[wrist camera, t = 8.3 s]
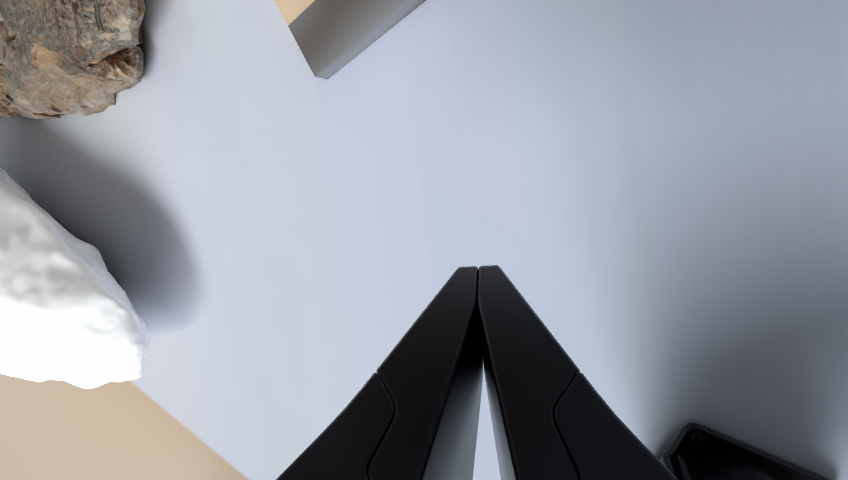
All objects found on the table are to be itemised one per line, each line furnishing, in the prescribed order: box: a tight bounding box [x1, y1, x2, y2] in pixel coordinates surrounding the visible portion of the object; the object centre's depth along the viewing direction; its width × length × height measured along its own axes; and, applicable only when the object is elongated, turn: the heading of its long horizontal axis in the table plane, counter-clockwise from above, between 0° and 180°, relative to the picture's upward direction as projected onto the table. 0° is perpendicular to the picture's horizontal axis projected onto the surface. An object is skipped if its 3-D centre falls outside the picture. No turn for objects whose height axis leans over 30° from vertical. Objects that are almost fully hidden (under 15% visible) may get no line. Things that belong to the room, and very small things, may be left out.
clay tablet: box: [0, 0, 145, 119], centre depth 27 cm, size 14×5×20 cm
